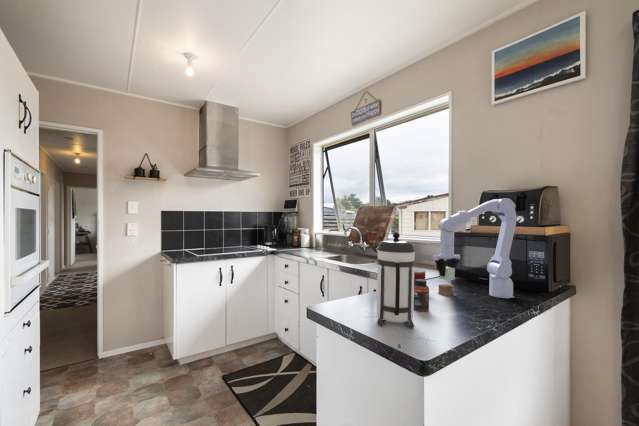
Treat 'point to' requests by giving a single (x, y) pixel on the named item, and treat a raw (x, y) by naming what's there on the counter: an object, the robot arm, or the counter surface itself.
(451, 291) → the walnut block
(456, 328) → the counter surface
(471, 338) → the counter surface
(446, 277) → the sage block
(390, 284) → the coffee press
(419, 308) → the supplement bottle
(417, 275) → the canned food
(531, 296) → the counter surface
